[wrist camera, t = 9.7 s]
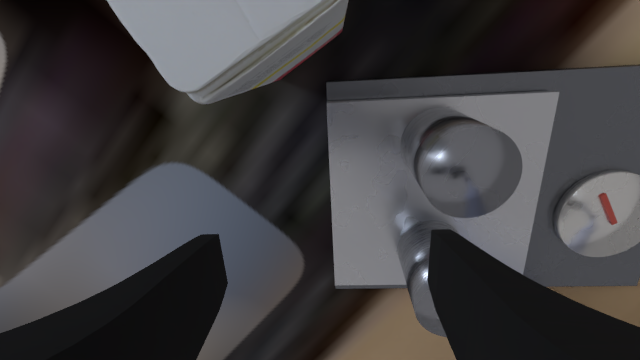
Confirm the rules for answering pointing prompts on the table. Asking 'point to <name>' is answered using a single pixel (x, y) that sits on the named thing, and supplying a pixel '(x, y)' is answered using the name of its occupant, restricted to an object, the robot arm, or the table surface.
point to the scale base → (561, 166)
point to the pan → (403, 190)
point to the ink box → (229, 40)
